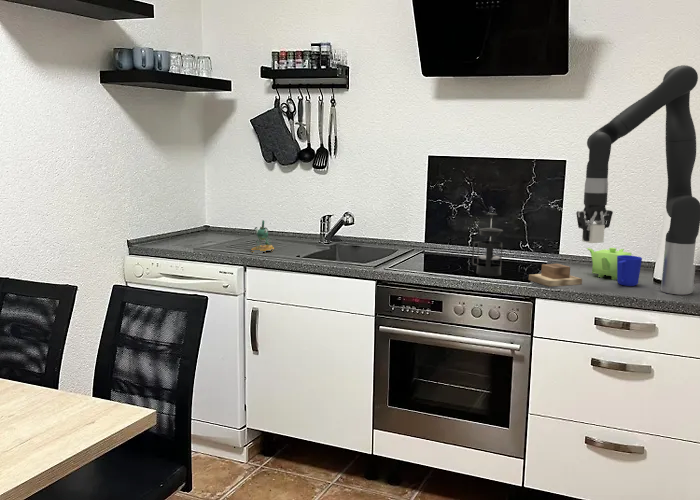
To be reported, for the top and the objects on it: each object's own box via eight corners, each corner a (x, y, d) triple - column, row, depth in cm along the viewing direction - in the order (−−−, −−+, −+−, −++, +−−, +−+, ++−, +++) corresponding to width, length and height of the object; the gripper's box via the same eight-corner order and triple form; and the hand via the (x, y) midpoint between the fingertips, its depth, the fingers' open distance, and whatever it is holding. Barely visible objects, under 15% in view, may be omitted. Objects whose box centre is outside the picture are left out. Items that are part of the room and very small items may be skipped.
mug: (606, 285, 246) (608, 258, 244) (621, 281, 254) (623, 254, 253) (628, 289, 240) (631, 261, 239) (643, 285, 249) (646, 257, 247)
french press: (503, 272, 267) (507, 212, 264) (502, 276, 258) (505, 215, 255) (473, 270, 270) (475, 211, 267) (470, 274, 262) (473, 213, 258)
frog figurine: (283, 249, 313) (282, 217, 309) (263, 259, 297) (261, 226, 293) (264, 247, 316) (263, 215, 312) (243, 257, 300) (241, 224, 297)
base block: (556, 274, 255) (557, 263, 254) (569, 278, 248) (570, 266, 248) (541, 275, 252) (541, 264, 252) (553, 279, 246) (554, 267, 245)
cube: (593, 240, 243) (594, 223, 242) (603, 242, 239) (604, 225, 238) (582, 241, 242) (583, 224, 241) (591, 243, 237) (592, 225, 236)
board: (560, 277, 259) (560, 272, 258) (581, 284, 248) (582, 278, 247) (528, 279, 254) (528, 274, 253) (549, 286, 243) (549, 281, 242)
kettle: (584, 273, 269) (586, 244, 267) (620, 273, 269) (622, 245, 268) (599, 281, 254) (602, 250, 252) (637, 281, 255) (640, 251, 253)
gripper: (586, 192, 231) (583, 243, 234) (620, 191, 236) (617, 241, 239) (571, 191, 238) (568, 240, 241) (605, 190, 243) (601, 238, 246)
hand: (592, 240), depth 240 cm, fingers closed on cube, 5 cm apart
